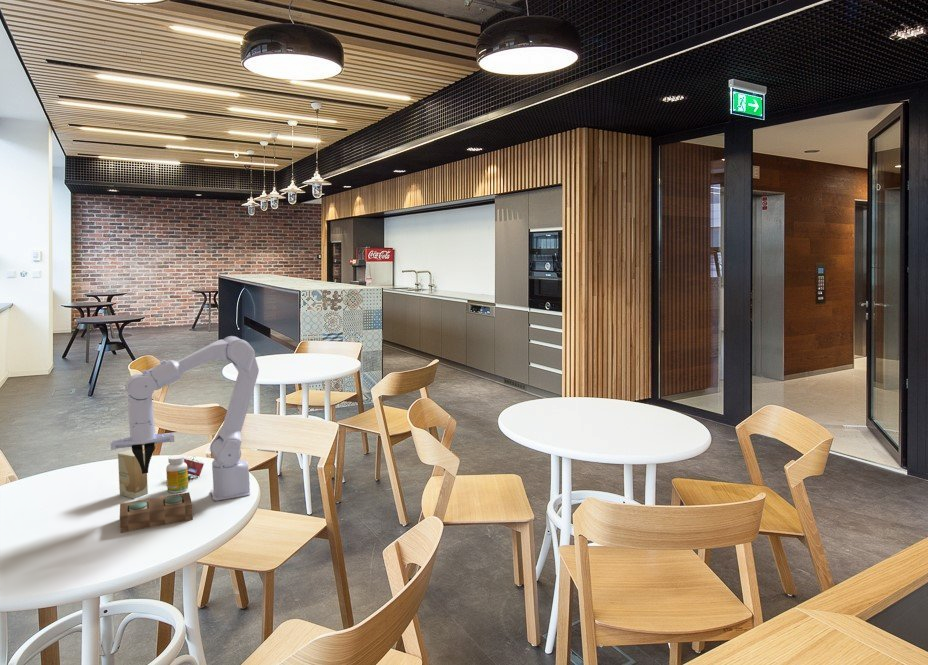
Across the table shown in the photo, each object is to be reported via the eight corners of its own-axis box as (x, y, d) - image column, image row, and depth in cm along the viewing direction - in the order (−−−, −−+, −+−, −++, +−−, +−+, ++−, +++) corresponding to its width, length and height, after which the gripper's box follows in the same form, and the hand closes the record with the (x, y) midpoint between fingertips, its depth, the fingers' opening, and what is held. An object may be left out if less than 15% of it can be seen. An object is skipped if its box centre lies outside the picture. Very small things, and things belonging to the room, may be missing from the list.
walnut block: (190, 506, 164) (189, 492, 163) (192, 519, 156) (192, 504, 155) (121, 518, 156) (120, 503, 156) (120, 532, 148) (119, 516, 148)
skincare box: (119, 495, 171) (116, 453, 170) (132, 490, 175) (130, 448, 174) (135, 499, 169) (133, 455, 167) (149, 493, 173) (146, 451, 171)
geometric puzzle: (210, 465, 190) (192, 446, 188) (207, 472, 183) (189, 453, 181) (191, 480, 189) (172, 461, 186) (187, 488, 182) (168, 469, 180)
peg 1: (147, 515, 157) (146, 500, 156) (148, 521, 153) (147, 506, 153) (130, 518, 155) (129, 503, 154) (130, 525, 151) (128, 509, 151)
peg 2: (182, 509, 160) (181, 495, 160) (183, 515, 157) (182, 500, 156) (165, 512, 159) (164, 497, 158) (166, 518, 155) (165, 503, 155)
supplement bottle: (180, 494, 172) (178, 460, 171) (163, 492, 173) (161, 459, 172) (192, 487, 177) (190, 454, 176) (175, 485, 179) (173, 453, 177)
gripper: (172, 414, 165) (174, 463, 167) (109, 420, 158) (113, 471, 160) (173, 420, 159) (176, 471, 161) (108, 427, 152) (112, 480, 154)
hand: (145, 472), depth 160 cm, fingers closed
